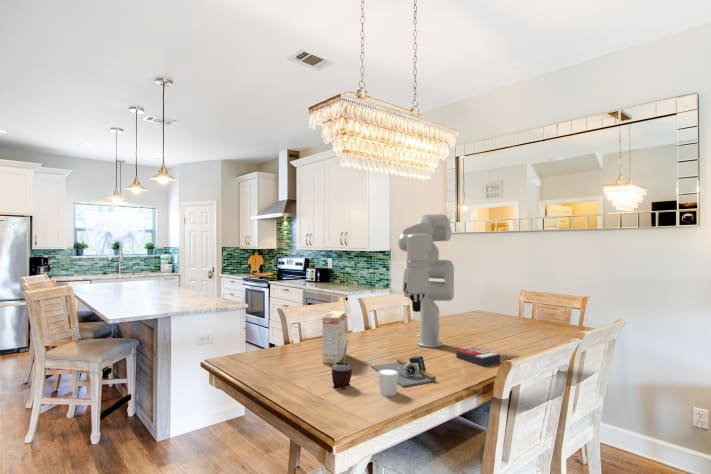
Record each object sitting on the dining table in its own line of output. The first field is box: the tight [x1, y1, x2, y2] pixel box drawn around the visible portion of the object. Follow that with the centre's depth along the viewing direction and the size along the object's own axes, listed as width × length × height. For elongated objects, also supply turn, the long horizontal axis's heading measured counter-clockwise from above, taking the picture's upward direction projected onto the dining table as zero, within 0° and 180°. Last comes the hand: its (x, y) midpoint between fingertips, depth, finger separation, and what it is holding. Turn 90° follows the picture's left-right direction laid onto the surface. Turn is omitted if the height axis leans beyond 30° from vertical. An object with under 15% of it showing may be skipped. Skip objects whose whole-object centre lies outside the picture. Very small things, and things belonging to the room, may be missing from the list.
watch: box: [398, 355, 427, 377], centre depth 150 cm, size 6×8×11 cm
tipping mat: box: [370, 358, 437, 388], centre depth 150 cm, size 24×14×2 cm, turn 25°
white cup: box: [377, 369, 398, 397], centre depth 132 cm, size 7×7×7 cm
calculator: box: [455, 347, 501, 368], centre depth 169 cm, size 11×4×15 cm
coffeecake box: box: [322, 310, 346, 365], centre depth 171 cm, size 15×7×20 cm, turn 168°
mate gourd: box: [331, 339, 353, 391], centre depth 138 cm, size 8×8×15 cm
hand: (416, 311), depth 155 cm, fingers closed
